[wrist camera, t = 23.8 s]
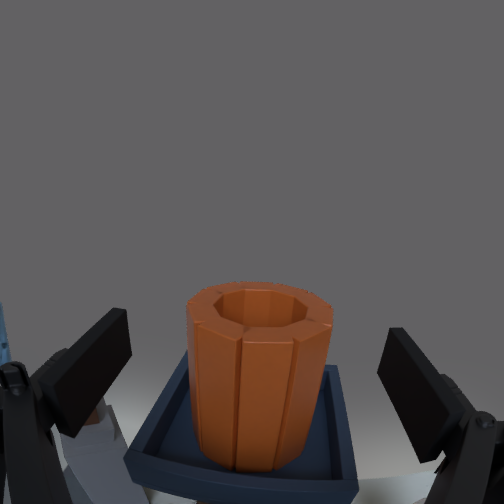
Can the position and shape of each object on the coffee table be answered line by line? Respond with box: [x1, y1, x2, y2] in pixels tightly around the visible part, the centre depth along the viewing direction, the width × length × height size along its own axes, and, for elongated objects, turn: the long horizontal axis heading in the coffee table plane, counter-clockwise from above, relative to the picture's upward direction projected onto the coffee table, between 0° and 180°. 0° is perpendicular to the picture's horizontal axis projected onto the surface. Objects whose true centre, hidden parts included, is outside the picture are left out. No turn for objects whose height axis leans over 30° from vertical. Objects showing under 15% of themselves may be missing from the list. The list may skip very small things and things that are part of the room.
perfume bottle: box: [60, 397, 149, 504], centre depth 24 cm, size 7×7×18 cm
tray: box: [123, 350, 359, 504], centre depth 19 cm, size 12×12×25 cm
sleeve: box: [186, 281, 333, 473], centre depth 16 cm, size 7×7×9 cm
